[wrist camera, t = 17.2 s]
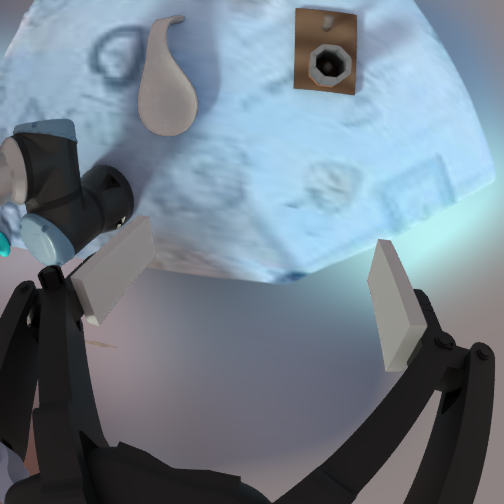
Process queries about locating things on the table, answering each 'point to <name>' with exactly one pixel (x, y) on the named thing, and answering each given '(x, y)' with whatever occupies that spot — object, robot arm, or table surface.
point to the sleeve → (337, 59)
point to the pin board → (324, 32)
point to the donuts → (4, 245)
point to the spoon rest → (165, 86)
